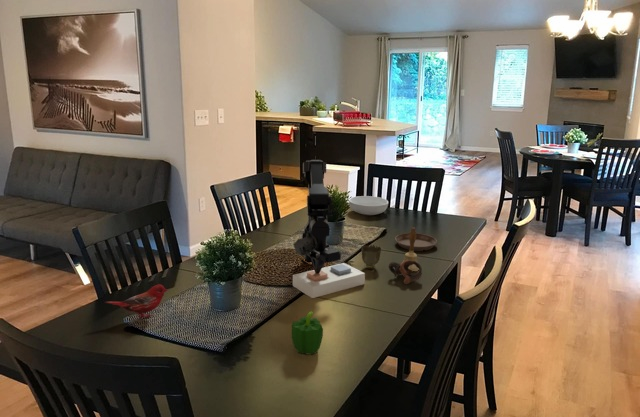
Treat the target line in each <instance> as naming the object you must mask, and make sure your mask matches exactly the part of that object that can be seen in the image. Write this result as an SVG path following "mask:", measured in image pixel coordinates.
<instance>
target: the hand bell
mask: <svg viewBox="0 0 640 417" xmlns="http://www.w3.org/2000/svg"><path fill="white" fill-rule="evenodd" d="M409 233H410V234H409V241H410V249H409V250H408V252H406V253H405V255H404V259H403V261H402V262H404V261H405V260H413V261H416V262H417V263H419V262H418V255H417V253H415V252H414V243H415V240H416V233H417V231H416V227H411V229H410V231H409ZM408 268H409V269H410V270H412V271H415V272H419V271H418V270H419V268H418V267H416V265H415V264H413V265H410V266H409V267H408Z"/></svg>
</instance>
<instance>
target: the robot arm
mask: <svg viewBox="0 0 640 417" xmlns="http://www.w3.org/2000/svg"><path fill="white" fill-rule="evenodd" d="M326 173H327V161H324V160H321V159H311V160H306V161H304V162H302V174H304V178H305V181H306V182H307V184H308V193H307V196H306V212H307V213H306V215H307V222H306V224H305V225H304V227H303V232H302V233H301V238H298V239H297V240H296V241H295V242H294V243H293V247H294V250H295V253H296V254H298V255H299V256H303V257H304V258H305V261H307V262H312V264H313V265H312V267H313V270H315V273H316V274H318V273H320V271H321V269H322V268H324V265H325V263H327V264H328V263H332V262H336V261H341V259H342V253H341V252H340V251H339V250H337V249H335V248H330V244H329V243H327V241H328V240H327V237H329V236H330V232H331V231H330V230H331V228H330V225H329V221H328V216H332V213H333V211H334V208H333V205H334V204H333V198H332V196H331V195H330V194H329V188H327V187H326V186H325V185H324V179H325V174H326ZM328 248H329V249H328Z"/></svg>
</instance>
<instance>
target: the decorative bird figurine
mask: <svg viewBox="0 0 640 417" xmlns="http://www.w3.org/2000/svg"><path fill="white" fill-rule="evenodd" d="M166 292H169V290H168V289H167V288H165V287H164V285H162V284H160V283H159V284H156V285H154V286H152V287H150V288H149V289H148V290H147V291H145V292H143V293H141V294H137V295H135V296H132V297H129V298H128V299H125V300H123V301H104V303H105V304H109V305H114V306H117V307H121V308H122V309H124V310H126V311H128V312H132V313H136V314H138V315H137V318H149V317H152V316H154V314H145V313H149V312H151V311H154V310H155V309H156V308H157V307H158V306H159V305H160V304H161V302H162V299H163V297H164V295H165V293H166Z"/></svg>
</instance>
